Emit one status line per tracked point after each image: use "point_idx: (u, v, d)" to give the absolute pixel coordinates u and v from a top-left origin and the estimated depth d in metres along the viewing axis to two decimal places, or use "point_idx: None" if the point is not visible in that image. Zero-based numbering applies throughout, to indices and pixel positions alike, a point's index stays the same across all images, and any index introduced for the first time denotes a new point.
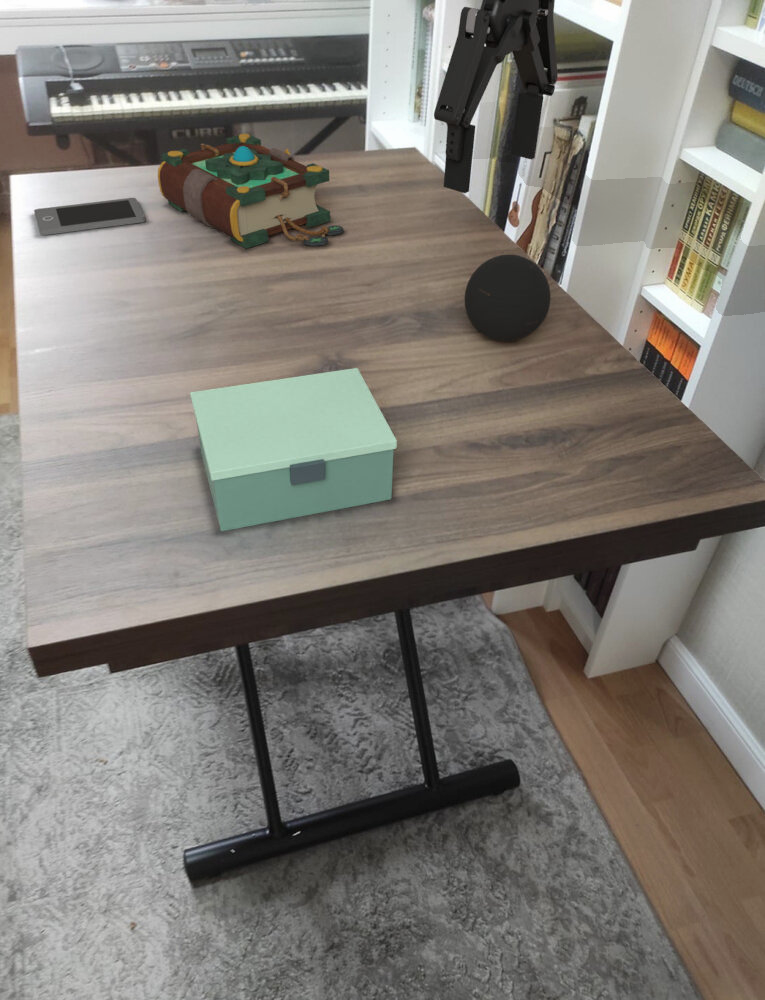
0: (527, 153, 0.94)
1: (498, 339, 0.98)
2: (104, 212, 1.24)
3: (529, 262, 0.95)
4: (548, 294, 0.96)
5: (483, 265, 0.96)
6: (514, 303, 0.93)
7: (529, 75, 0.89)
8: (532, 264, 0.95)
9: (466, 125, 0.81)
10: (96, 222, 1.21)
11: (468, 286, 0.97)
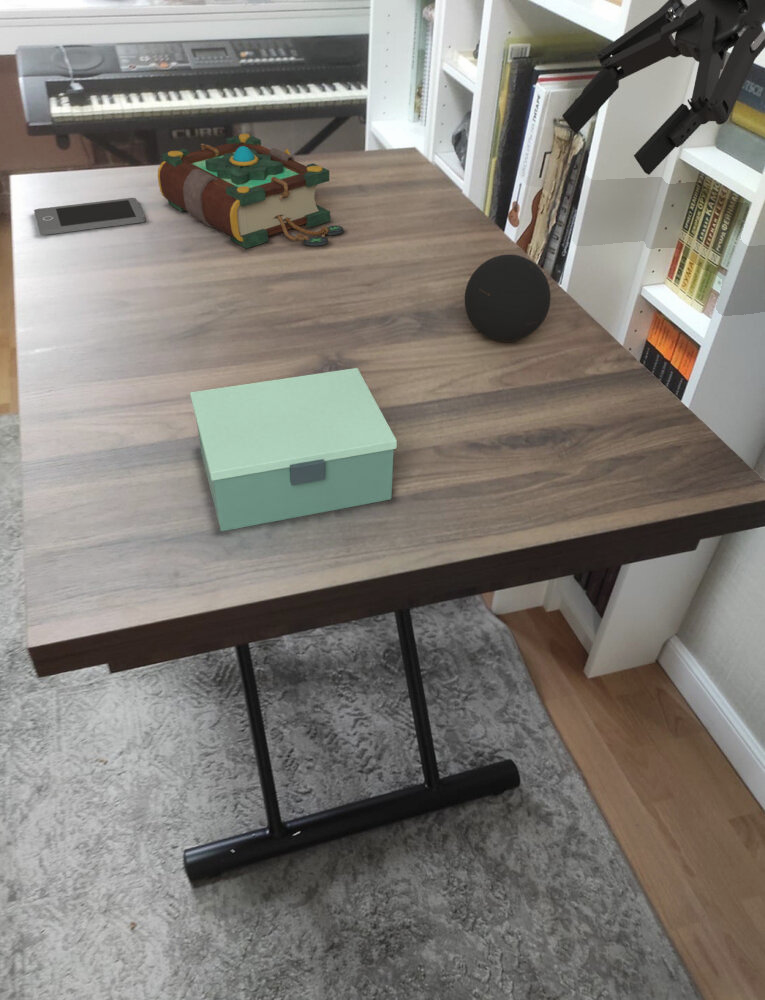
0: None
1: (498, 339, 0.98)
2: (104, 212, 1.24)
3: (529, 262, 0.95)
4: (548, 294, 0.96)
5: (483, 265, 0.96)
6: (514, 303, 0.93)
7: None
8: (532, 264, 0.95)
9: (603, 65, 0.93)
10: (96, 222, 1.21)
11: (468, 286, 0.97)
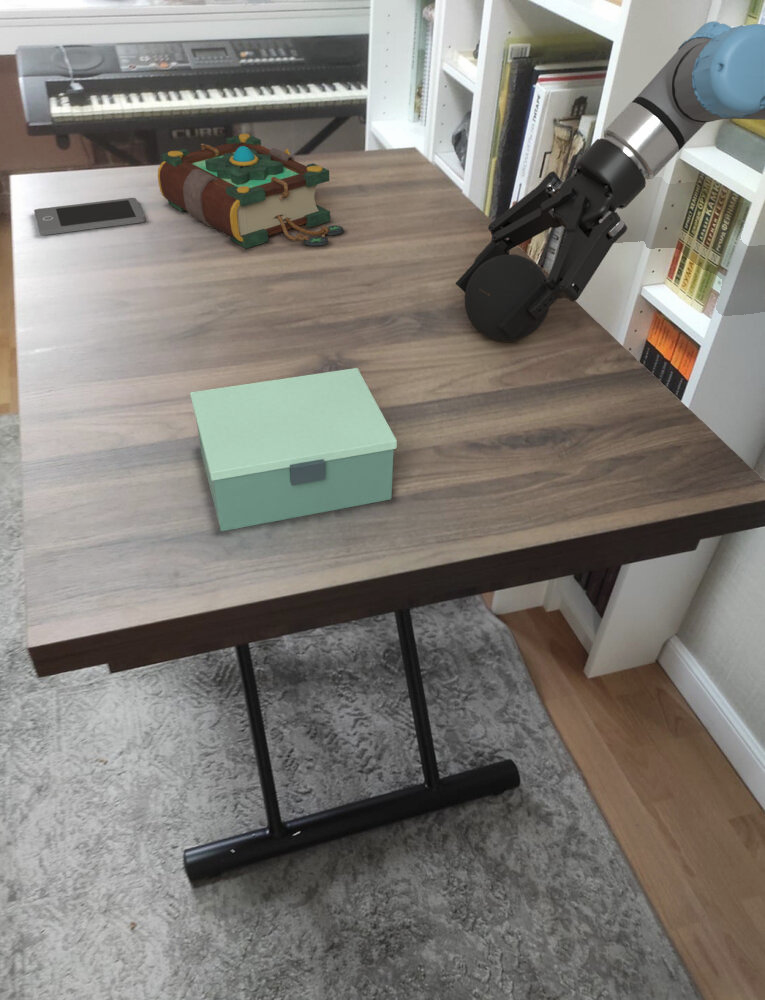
0: None
1: (498, 339, 0.98)
2: (104, 212, 1.24)
3: (529, 262, 0.95)
4: None
5: (483, 265, 0.96)
6: (514, 303, 0.93)
7: None
8: (532, 264, 0.95)
9: (493, 238, 1.00)
10: (96, 222, 1.21)
11: (468, 286, 0.97)
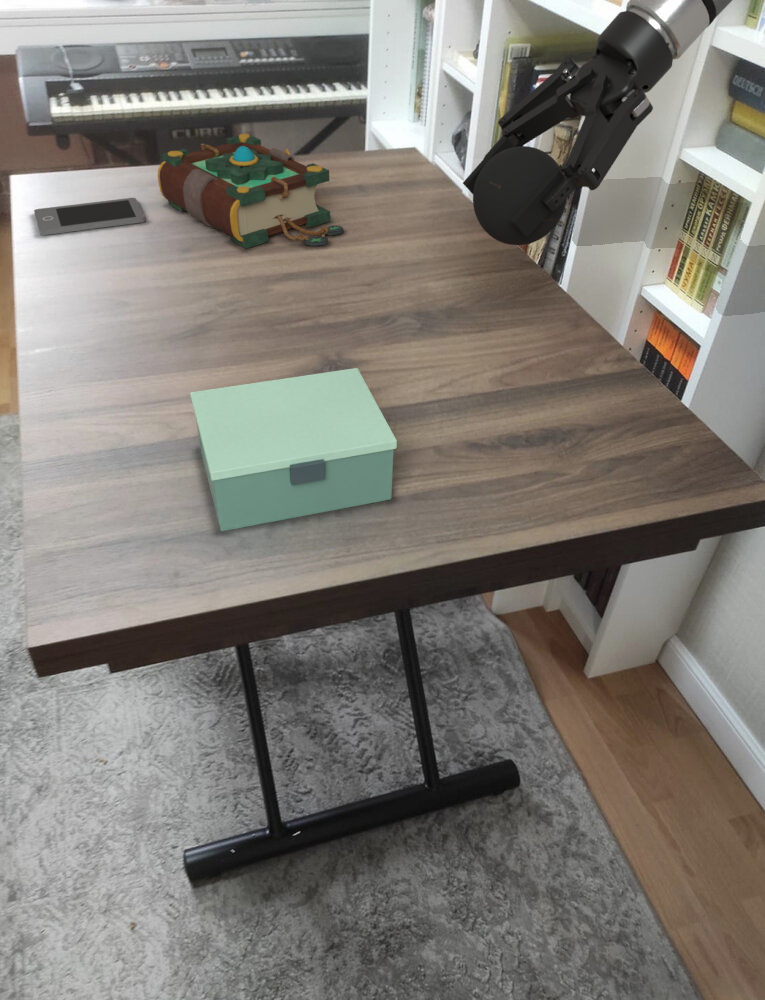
0: None
1: (510, 240, 0.89)
2: (104, 212, 1.24)
3: (544, 153, 0.87)
4: None
5: (493, 157, 0.88)
6: (528, 196, 0.85)
7: None
8: (547, 155, 0.87)
9: (503, 132, 0.91)
10: (96, 222, 1.21)
11: (477, 181, 0.88)
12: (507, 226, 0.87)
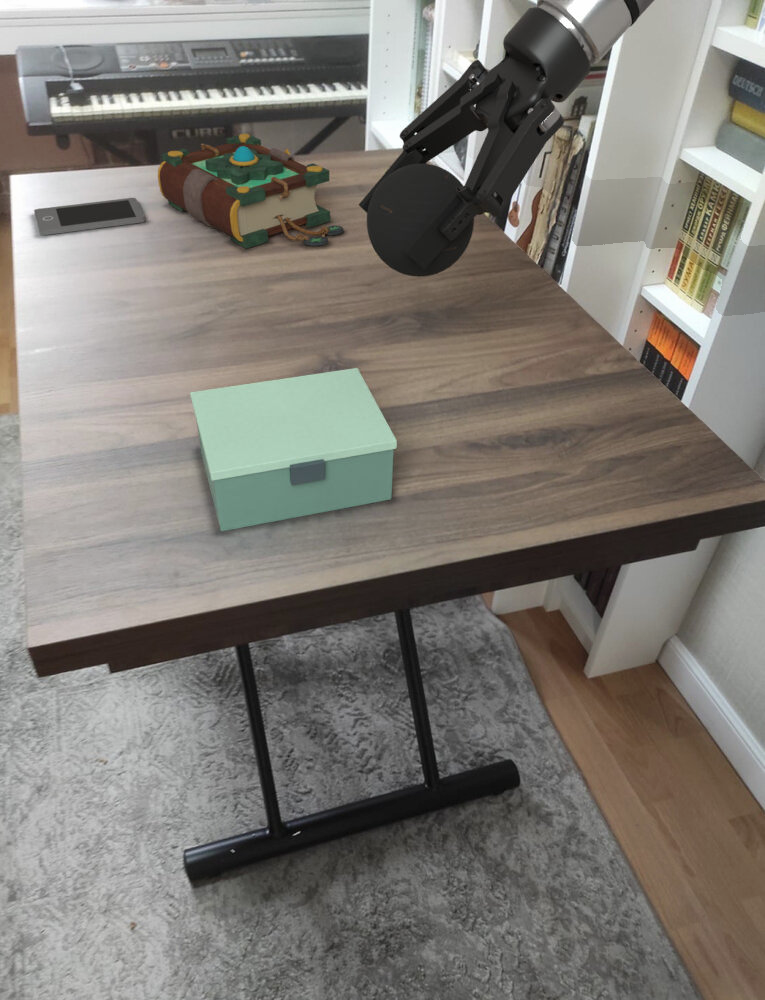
0: None
1: (408, 272, 0.78)
2: (104, 212, 1.24)
3: (444, 172, 0.75)
4: None
5: (387, 176, 0.76)
6: (423, 222, 0.73)
7: None
8: (448, 174, 0.75)
9: (404, 147, 0.80)
10: (96, 222, 1.21)
11: (369, 204, 0.77)
12: (402, 256, 0.75)
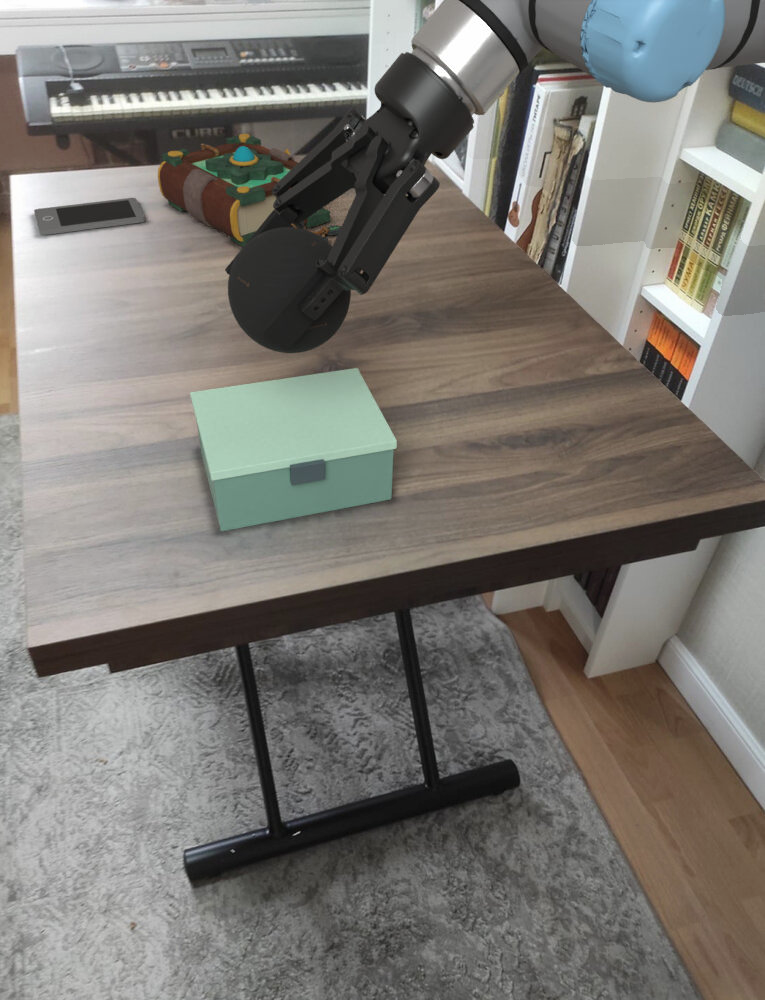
0: None
1: (276, 349, 0.68)
2: (104, 212, 1.24)
3: (312, 238, 0.65)
4: None
5: (248, 242, 0.66)
6: (284, 298, 0.64)
7: None
8: (316, 241, 0.65)
9: (274, 205, 0.70)
10: (96, 222, 1.21)
11: None
12: None
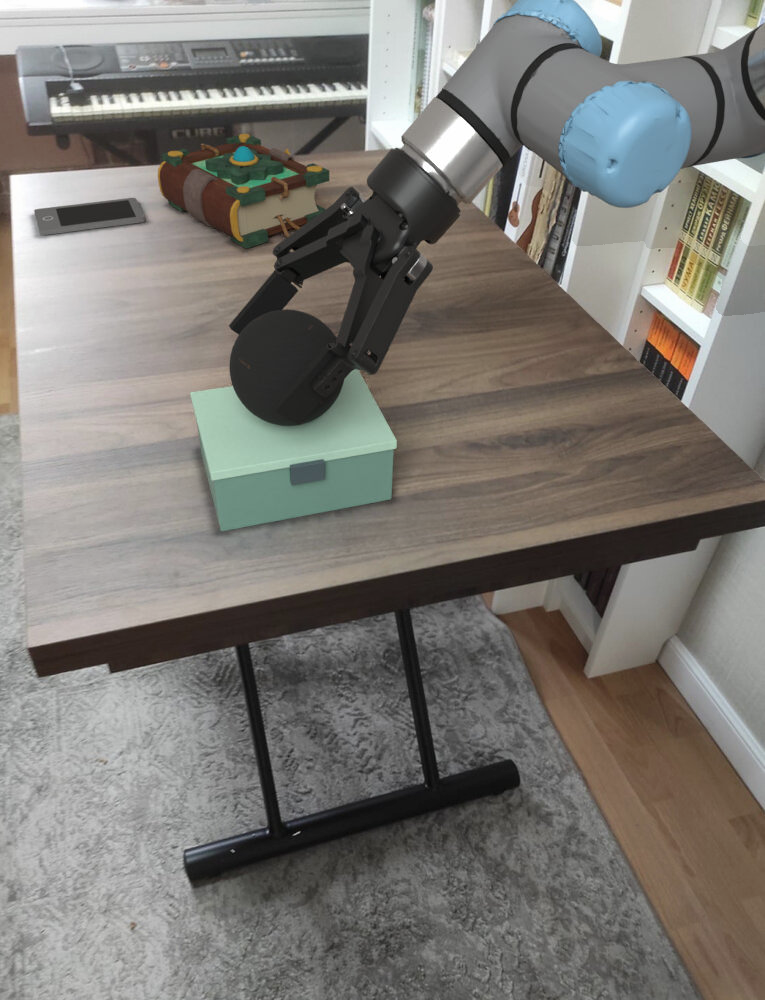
0: None
1: (275, 423, 0.72)
2: (104, 212, 1.24)
3: (308, 321, 0.70)
4: None
5: (248, 325, 0.70)
6: (282, 380, 0.68)
7: None
8: (312, 324, 0.70)
9: (275, 265, 0.75)
10: (96, 222, 1.21)
11: (231, 352, 0.71)
12: (264, 411, 0.70)
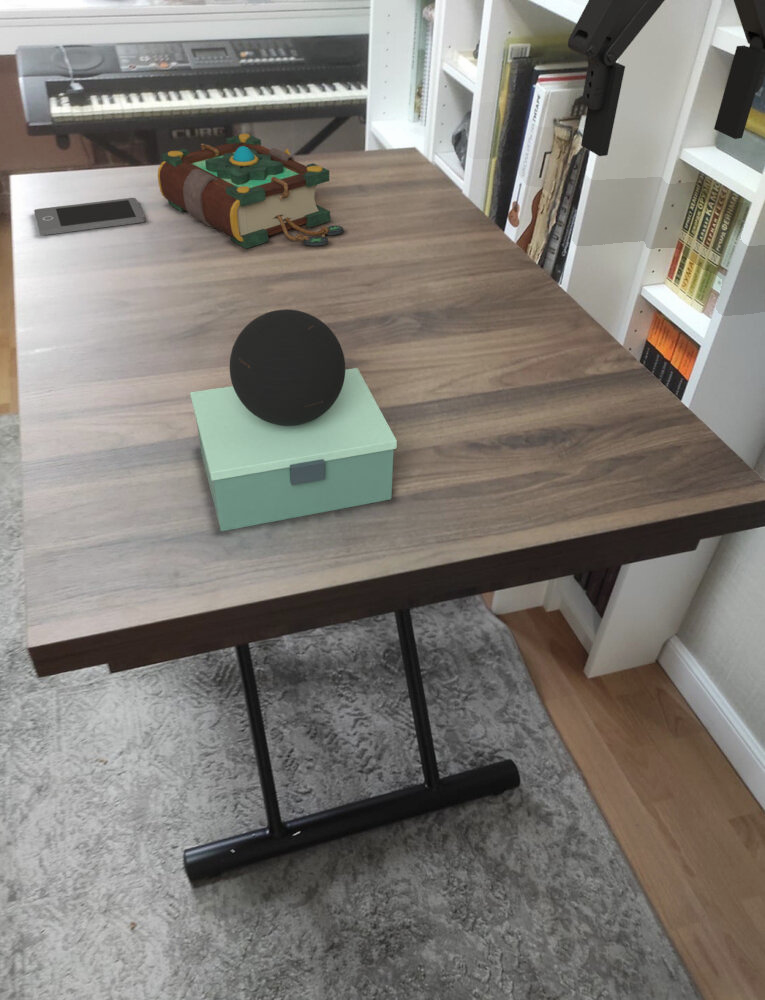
0: (732, 130, 0.71)
1: (275, 423, 0.72)
2: (104, 212, 1.24)
3: (309, 321, 0.70)
4: (336, 364, 0.70)
5: (248, 325, 0.70)
6: (283, 380, 0.68)
7: (750, 20, 0.66)
8: (313, 324, 0.70)
9: (608, 62, 0.62)
10: (96, 222, 1.21)
11: (231, 352, 0.71)
12: (264, 411, 0.70)
